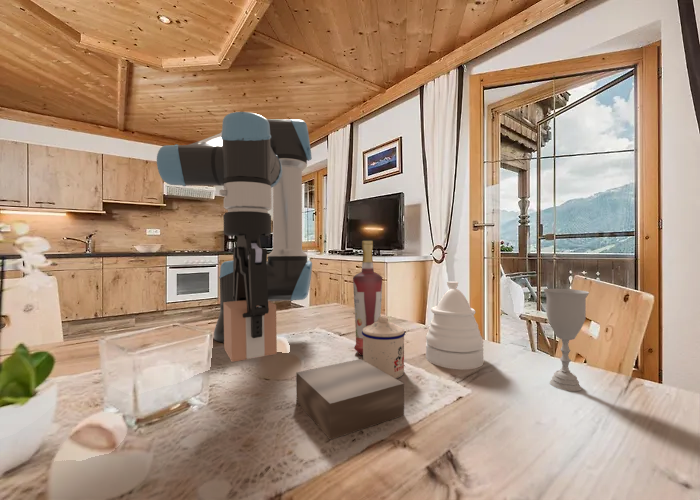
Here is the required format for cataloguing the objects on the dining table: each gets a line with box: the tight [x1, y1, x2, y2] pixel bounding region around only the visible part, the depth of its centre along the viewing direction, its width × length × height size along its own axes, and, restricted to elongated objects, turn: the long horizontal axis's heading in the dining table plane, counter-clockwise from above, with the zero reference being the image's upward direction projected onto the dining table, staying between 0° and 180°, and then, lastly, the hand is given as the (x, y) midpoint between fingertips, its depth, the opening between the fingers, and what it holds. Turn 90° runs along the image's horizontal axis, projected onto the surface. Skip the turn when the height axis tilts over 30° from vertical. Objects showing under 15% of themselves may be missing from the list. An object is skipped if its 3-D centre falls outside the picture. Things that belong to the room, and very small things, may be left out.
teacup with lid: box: [362, 316, 406, 379], centre depth 70 cm, size 12×9×12 cm
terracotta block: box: [223, 300, 278, 363], centre depth 55 cm, size 7×7×8 cm
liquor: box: [352, 240, 383, 356], centre depth 81 cm, size 7×7×28 cm
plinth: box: [295, 358, 405, 440], centre depth 54 cm, size 13×13×5 cm
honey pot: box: [425, 281, 484, 370], centre depth 77 cm, size 13×13×18 cm
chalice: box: [543, 288, 590, 392], centre depth 62 cm, size 7×7×18 cm
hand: (249, 349), depth 55 cm, fingers closed on terracotta block, 7 cm apart
